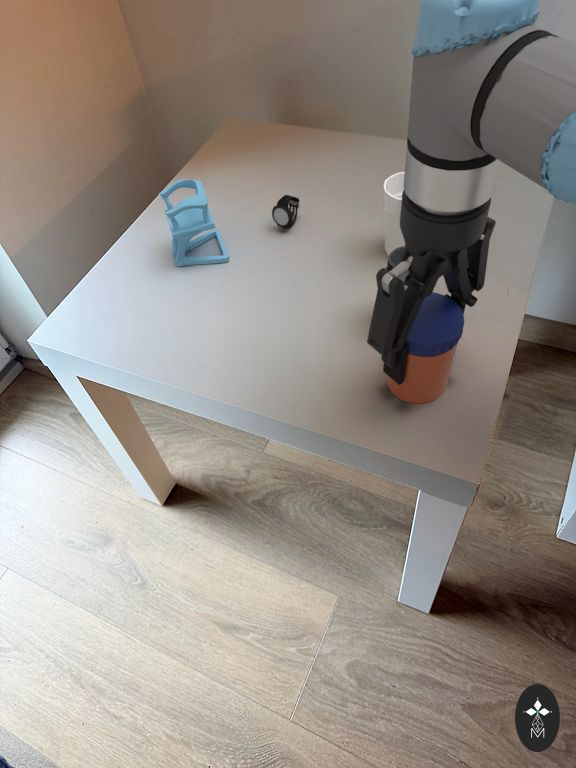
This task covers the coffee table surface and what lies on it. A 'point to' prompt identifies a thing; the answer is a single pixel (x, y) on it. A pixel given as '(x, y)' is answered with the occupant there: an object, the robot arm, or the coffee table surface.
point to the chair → (191, 224)
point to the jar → (424, 377)
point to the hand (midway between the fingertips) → (420, 357)
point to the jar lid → (435, 326)
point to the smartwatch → (285, 211)
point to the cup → (393, 211)
